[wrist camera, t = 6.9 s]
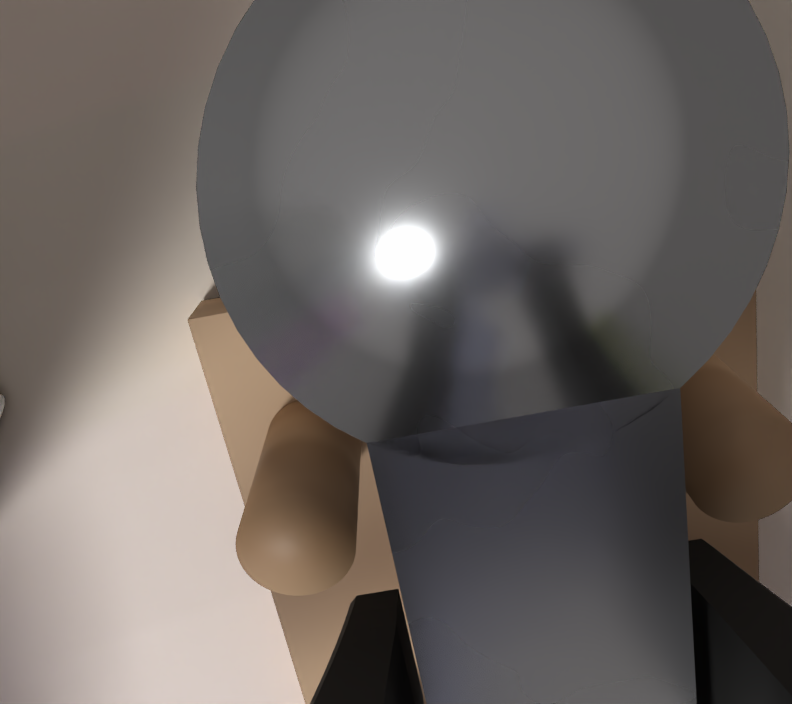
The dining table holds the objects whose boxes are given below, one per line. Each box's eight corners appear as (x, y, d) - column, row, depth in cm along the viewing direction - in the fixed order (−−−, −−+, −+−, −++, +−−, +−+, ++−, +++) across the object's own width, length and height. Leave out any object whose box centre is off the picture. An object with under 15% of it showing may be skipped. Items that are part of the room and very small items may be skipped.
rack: (739, 729, 17) (841, 921, 13) (346, 789, 17) (337, 990, 14) (727, 202, 12) (875, 264, 9) (201, 300, 13) (128, 400, 9)
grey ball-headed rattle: (669, 839, 17) (783, 1144, 12) (447, 872, 17) (473, 1182, 12) (599, -81, 10) (792, -204, 5) (235, -6, 10) (114, -57, 6)
